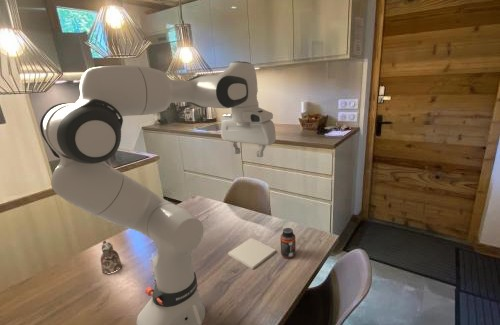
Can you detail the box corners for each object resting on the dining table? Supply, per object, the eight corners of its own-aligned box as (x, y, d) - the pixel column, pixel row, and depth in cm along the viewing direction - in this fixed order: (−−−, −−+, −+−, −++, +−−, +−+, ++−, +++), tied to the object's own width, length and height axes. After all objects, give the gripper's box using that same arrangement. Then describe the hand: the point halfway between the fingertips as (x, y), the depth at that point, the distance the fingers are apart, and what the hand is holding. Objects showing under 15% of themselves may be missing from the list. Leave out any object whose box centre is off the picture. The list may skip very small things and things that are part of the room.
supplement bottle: (295, 259, 110) (295, 234, 107) (280, 258, 111) (279, 234, 108) (295, 250, 116) (295, 226, 112) (281, 249, 117) (280, 225, 113)
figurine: (103, 277, 107) (96, 250, 103) (101, 267, 113) (94, 242, 109) (123, 269, 111) (116, 243, 107) (120, 260, 116) (114, 235, 113)
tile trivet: (252, 269, 106) (252, 267, 106) (228, 254, 116) (228, 252, 115) (275, 251, 116) (275, 249, 115) (251, 239, 125) (251, 237, 125)
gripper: (215, 115, 94) (219, 154, 98) (266, 117, 82) (269, 161, 87) (226, 112, 98) (230, 149, 103) (277, 113, 87) (278, 155, 91)
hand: (248, 155), depth 95 cm, fingers open, 8 cm apart
